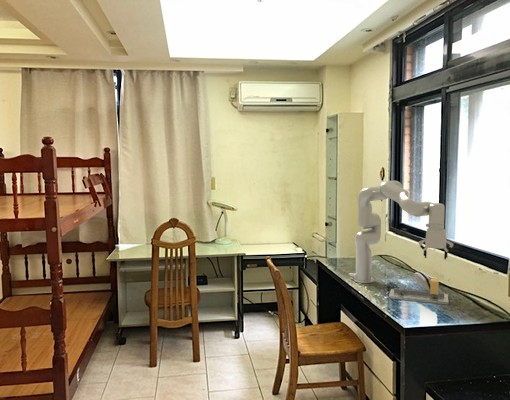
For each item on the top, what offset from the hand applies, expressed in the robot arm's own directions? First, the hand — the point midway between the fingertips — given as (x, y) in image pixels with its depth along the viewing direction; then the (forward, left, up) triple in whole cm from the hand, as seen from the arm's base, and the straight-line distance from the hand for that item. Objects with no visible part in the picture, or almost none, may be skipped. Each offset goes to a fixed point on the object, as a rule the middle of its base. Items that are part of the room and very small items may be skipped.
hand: (435, 258), depth 233 cm
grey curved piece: (-5, +25, -24) cm, 35 cm away
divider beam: (-8, +3, -22) cm, 24 cm away
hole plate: (-8, +3, -23) cm, 25 cm away
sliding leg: (0, +3, -22) cm, 22 cm away
